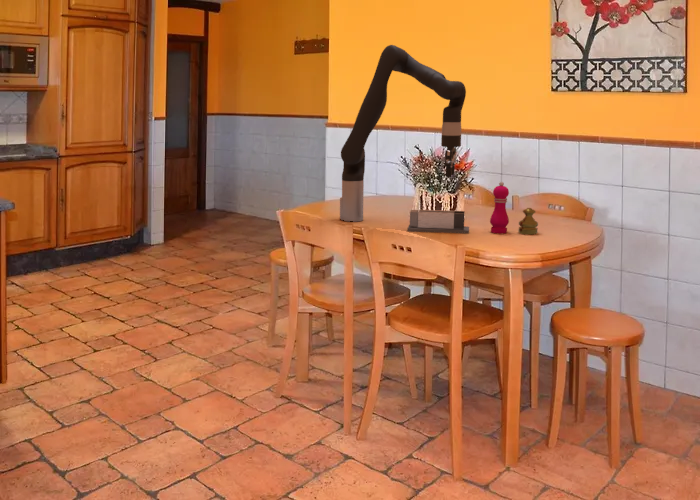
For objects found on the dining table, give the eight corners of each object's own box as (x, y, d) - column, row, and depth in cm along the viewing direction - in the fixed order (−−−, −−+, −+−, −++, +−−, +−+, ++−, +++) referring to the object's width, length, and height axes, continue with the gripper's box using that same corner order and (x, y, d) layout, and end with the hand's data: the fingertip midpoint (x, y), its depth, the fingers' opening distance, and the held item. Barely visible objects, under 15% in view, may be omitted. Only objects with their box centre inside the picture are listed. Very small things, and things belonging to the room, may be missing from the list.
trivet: (407, 231, 276) (407, 228, 276) (409, 227, 285) (409, 224, 285) (468, 233, 273) (468, 230, 272) (468, 229, 281) (469, 226, 281)
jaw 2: (417, 227, 277) (418, 212, 275) (418, 226, 278) (418, 211, 277) (463, 228, 274) (464, 213, 272) (463, 228, 275) (464, 213, 274)
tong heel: (409, 226, 278) (410, 211, 277) (410, 224, 283) (411, 209, 281) (417, 226, 278) (417, 211, 276) (418, 224, 282) (418, 210, 281)
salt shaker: (535, 231, 278) (537, 206, 276) (538, 235, 271) (540, 209, 268) (517, 231, 278) (518, 206, 276) (519, 234, 271) (521, 209, 269)
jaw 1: (418, 224, 282) (419, 210, 280) (419, 224, 283) (419, 209, 282) (464, 226, 279) (464, 211, 277) (464, 225, 280) (464, 211, 279)
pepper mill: (499, 234, 271) (502, 183, 267) (485, 231, 277) (488, 181, 272) (512, 232, 275) (514, 182, 271) (498, 229, 281) (500, 180, 277)
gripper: (459, 135, 262) (457, 178, 265) (463, 133, 275) (461, 174, 279) (439, 134, 264) (437, 177, 267) (444, 133, 277) (442, 173, 281)
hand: (450, 176), depth 273 cm, fingers open, 8 cm apart
